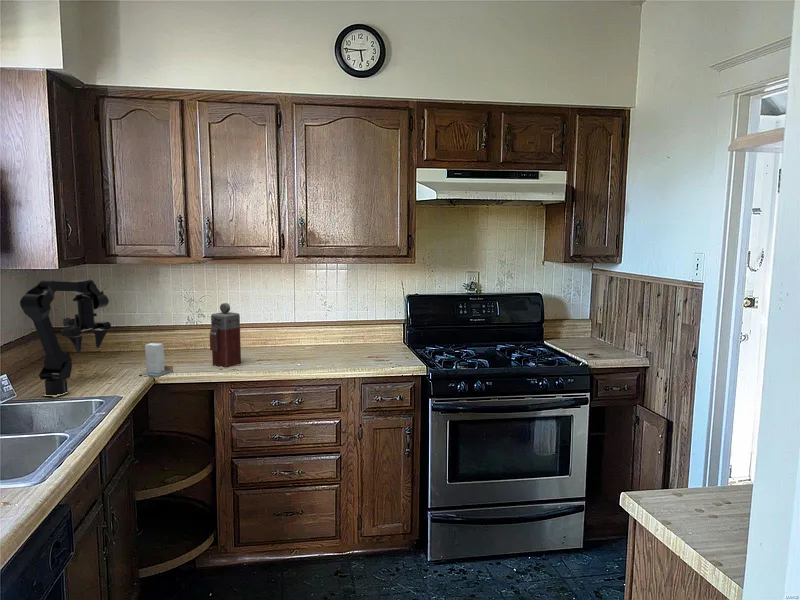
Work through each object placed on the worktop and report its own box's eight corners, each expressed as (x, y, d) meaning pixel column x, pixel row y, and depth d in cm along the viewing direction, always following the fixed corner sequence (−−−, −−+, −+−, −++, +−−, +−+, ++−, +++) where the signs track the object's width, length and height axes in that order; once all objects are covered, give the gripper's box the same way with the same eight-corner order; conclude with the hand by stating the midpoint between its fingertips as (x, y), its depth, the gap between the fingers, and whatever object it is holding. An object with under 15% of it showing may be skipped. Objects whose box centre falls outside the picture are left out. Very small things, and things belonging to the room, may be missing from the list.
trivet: (156, 377, 236) (156, 370, 235) (138, 375, 238) (138, 369, 238) (173, 371, 245) (172, 365, 245) (155, 370, 248) (155, 363, 248)
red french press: (208, 366, 256) (206, 304, 252) (227, 361, 265) (225, 301, 262) (222, 368, 251) (220, 305, 248) (241, 363, 261) (239, 302, 257)
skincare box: (165, 371, 243) (163, 343, 241) (158, 373, 239) (157, 345, 237) (152, 370, 244) (151, 342, 243) (145, 372, 240) (144, 344, 239)
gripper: (89, 306, 236) (92, 343, 238) (49, 313, 219) (52, 353, 221) (110, 308, 233) (113, 345, 235) (71, 315, 215) (74, 355, 217)
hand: (88, 350), depth 227 cm, fingers open, 9 cm apart
